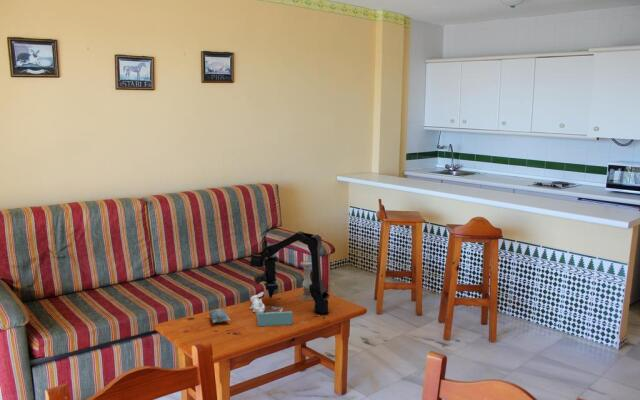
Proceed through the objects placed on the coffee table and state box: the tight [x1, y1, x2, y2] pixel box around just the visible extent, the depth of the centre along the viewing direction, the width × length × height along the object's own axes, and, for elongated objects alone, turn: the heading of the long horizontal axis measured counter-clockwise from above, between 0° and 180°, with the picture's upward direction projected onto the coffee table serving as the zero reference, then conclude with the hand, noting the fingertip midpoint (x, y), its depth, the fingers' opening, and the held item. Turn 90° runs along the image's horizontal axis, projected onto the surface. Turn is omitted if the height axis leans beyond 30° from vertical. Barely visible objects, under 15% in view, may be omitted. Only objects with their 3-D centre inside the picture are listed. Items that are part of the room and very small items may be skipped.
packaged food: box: [208, 308, 231, 324], centre depth 268 cm, size 9×12×5 cm
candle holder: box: [299, 260, 314, 301], centre depth 302 cm, size 9×9×20 cm
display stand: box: [256, 310, 293, 327], centre depth 268 cm, size 16×10×6 cm, turn 100°
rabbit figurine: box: [249, 291, 266, 314], centre depth 283 cm, size 12×8×10 cm, turn 30°
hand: (270, 297), depth 290 cm, fingers closed
